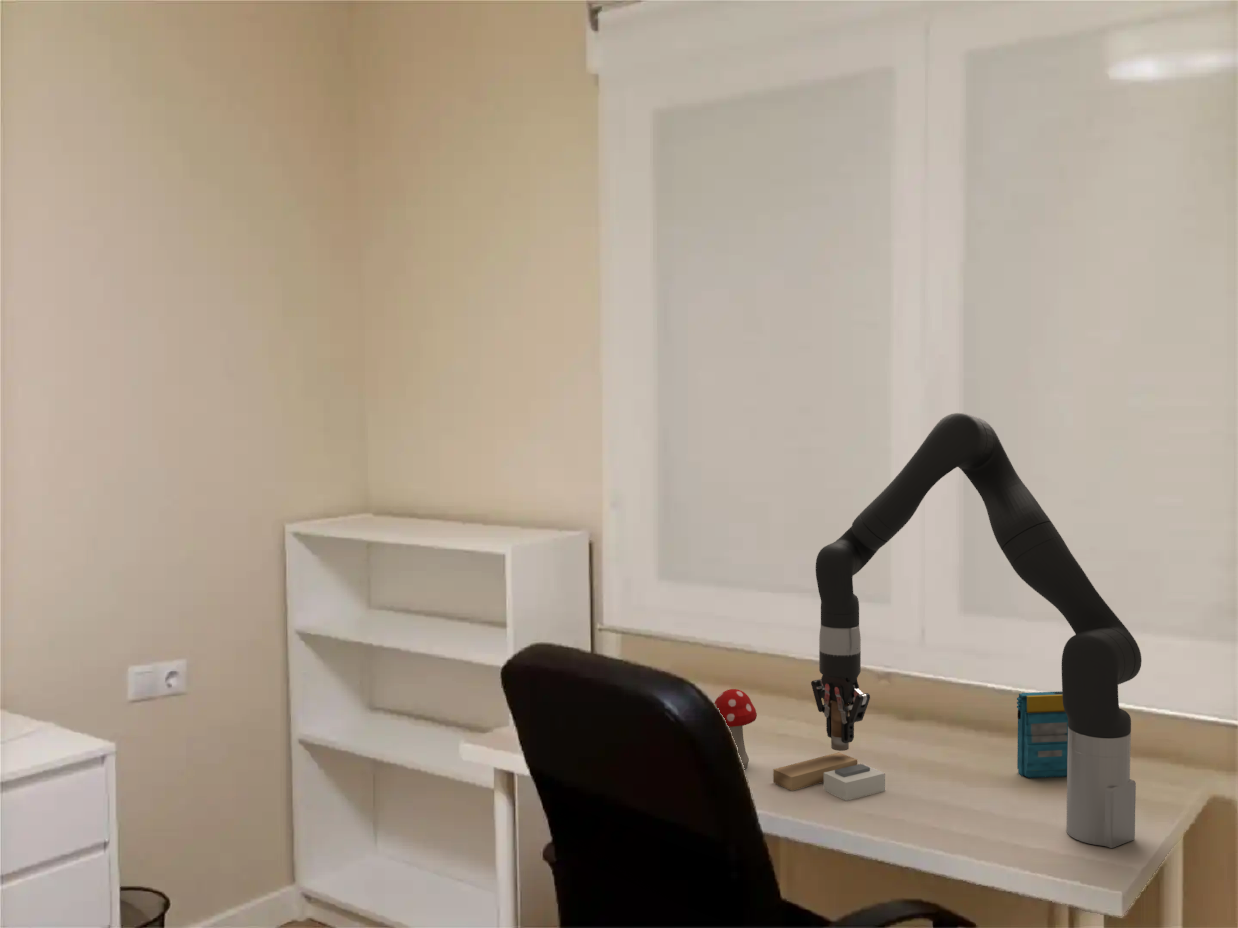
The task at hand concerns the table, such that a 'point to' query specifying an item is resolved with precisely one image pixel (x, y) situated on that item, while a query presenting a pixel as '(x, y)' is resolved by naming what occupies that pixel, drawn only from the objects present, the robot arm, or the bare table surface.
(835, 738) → the brown cylinder
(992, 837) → the table surface
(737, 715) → the decorative mushroom
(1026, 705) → the handheld gaming console
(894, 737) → the table surface
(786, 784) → the batten
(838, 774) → the block
